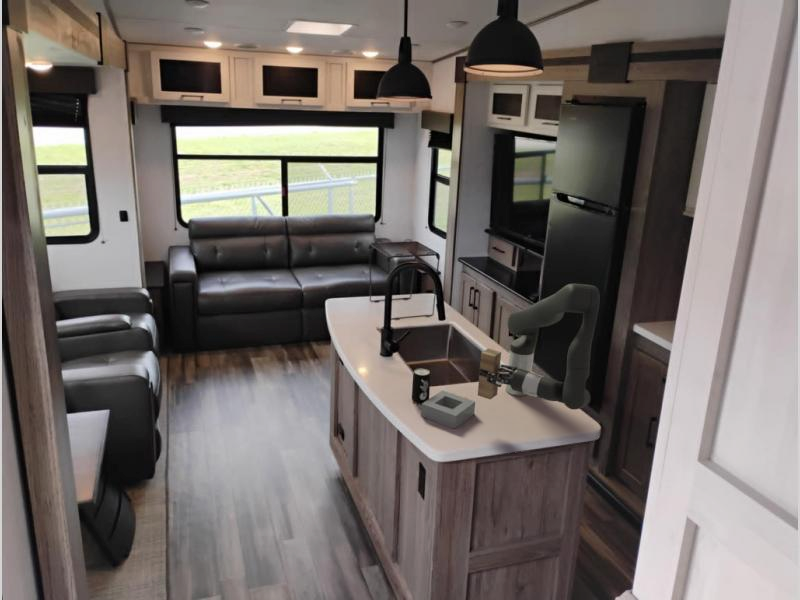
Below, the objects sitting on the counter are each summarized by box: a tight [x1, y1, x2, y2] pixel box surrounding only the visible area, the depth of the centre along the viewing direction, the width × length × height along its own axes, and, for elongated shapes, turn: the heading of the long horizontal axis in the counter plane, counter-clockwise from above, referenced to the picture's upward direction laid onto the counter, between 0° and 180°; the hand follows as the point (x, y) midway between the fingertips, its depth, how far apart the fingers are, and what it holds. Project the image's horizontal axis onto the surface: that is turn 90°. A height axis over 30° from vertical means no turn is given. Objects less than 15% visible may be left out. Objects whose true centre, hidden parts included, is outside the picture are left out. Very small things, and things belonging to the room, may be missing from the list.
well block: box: [420, 390, 476, 429], centre depth 225 cm, size 14×14×5 cm
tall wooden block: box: [477, 348, 502, 400], centre depth 214 cm, size 5×5×16 cm
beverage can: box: [411, 367, 432, 405], centre depth 234 cm, size 7×7×12 cm
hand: (482, 369), depth 215 cm, fingers closed on tall wooden block, 5 cm apart
